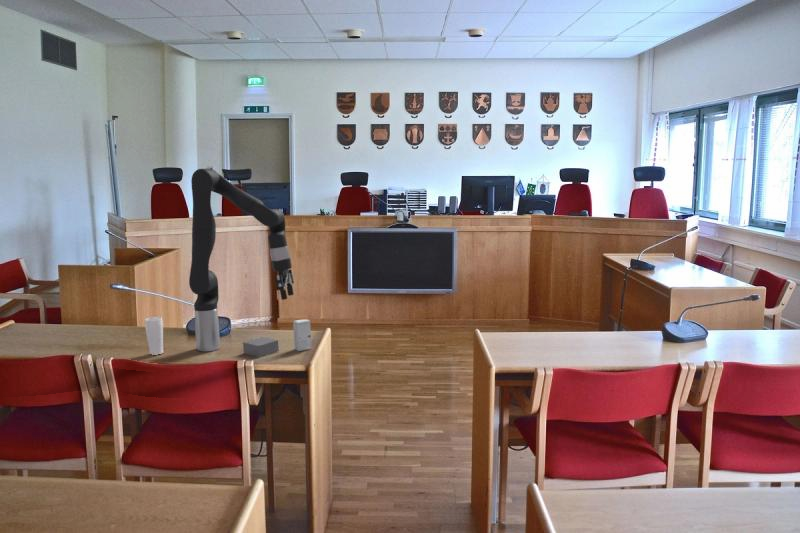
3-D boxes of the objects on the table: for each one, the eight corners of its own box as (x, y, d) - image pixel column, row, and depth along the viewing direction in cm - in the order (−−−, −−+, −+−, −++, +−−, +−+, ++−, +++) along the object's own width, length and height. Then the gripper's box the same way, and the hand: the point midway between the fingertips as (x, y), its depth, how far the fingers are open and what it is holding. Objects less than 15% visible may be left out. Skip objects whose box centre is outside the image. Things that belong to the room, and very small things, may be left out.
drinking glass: (148, 357, 265) (145, 321, 263) (146, 353, 271) (143, 318, 269) (166, 354, 268) (163, 319, 266) (164, 350, 274) (161, 316, 272)
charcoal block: (243, 354, 267) (242, 342, 267) (262, 348, 275) (262, 336, 274) (259, 358, 261) (258, 345, 260) (278, 352, 269) (278, 340, 268)
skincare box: (298, 351, 268) (296, 322, 266) (293, 349, 271) (292, 320, 269) (312, 348, 271) (310, 320, 269) (307, 346, 275) (306, 318, 273)
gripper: (277, 257, 271) (284, 295, 273) (265, 262, 257) (273, 302, 259) (294, 254, 270) (301, 292, 272) (283, 259, 256) (291, 299, 258)
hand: (287, 297), depth 266 cm, fingers open, 8 cm apart
